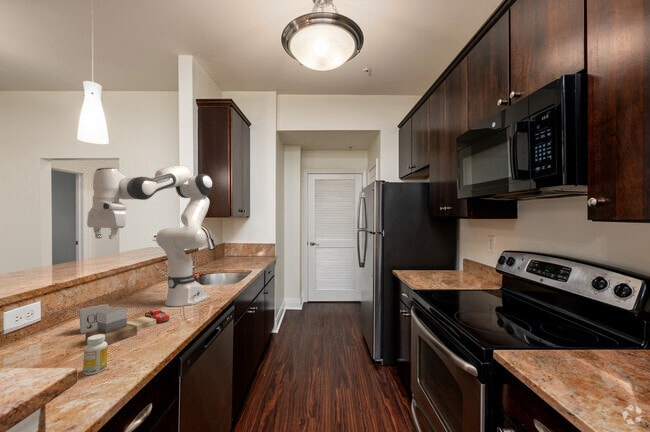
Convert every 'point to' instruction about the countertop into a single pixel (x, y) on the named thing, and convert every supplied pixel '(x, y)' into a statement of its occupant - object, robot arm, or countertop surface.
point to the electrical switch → (90, 317)
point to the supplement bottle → (95, 355)
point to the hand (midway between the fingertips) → (105, 238)
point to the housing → (112, 320)
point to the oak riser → (142, 322)
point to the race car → (157, 315)
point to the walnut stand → (115, 334)
